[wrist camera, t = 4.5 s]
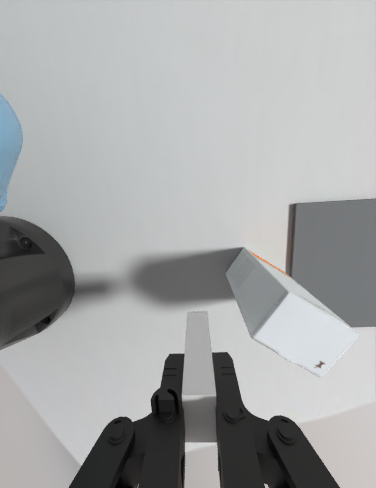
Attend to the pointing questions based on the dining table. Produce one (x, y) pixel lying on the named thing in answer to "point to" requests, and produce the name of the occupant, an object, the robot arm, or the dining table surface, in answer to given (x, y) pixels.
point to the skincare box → (287, 315)
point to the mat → (337, 257)
